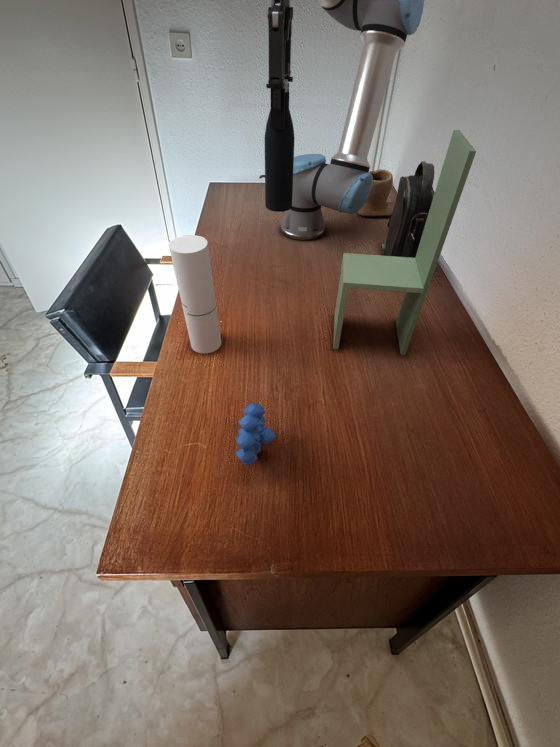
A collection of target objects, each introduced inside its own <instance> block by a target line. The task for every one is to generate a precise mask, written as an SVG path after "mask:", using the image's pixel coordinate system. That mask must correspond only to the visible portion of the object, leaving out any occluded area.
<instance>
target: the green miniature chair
mask: <svg viewBox="0 0 560 747" xmlns="http://www.w3.org/2000/svg"><path fill="white" fill-rule="evenodd" d="M476 154H477V150H476V149H475V147H473V145H472V144H471V143H470V141H469V140H468V139H467V138H466V136H465V135H464V134H463V133H462V132H461V130H460V129H453V131H452V133H451V137H450V141H449V143H448V147H447V150H446V153H445V157H444V161H443V164H442V167H441V170H440V174H439V177H438V180H437V183H436V187H435V190H434V192H435V194H434V197H433V200H432V204H431V207H430V210H429V214H428V217H427V220H426V224H425V227H424V230H423V234H422V237H421V240H420V244H419V247H418V250H417V254H416V257H415V258H410V257H395V256H383V255H379V254H366V253H365V254H364V253H352V252H351V253H350V252H343V254H342V261H341V269H340V275H339V276H340V277H339V282H338V289H337V296H336V301H335V302H336V303H335V310H334V317H333V341H332V342H333V345H332V348H333V350H339V347H340V342H341V336H342V330H343V324H344V317H345V312H346V305H347V299H348V293H349V289H359V290H373V291H384V292H385V291H386V292H399V293H404V294H403V297H402V301H401V304H400V308H399V311H398V314H397V317H396V320H395V326H396V333H397V340H398V347H399V352H400V355H401V356H406V354H407V351H408V348H409V345H410V342H411V339H412V337H413V333H414V331H415V328H416V325H417V322H418V319H419V317H420V313H421V310H422V308H423V305H424V302H425V300H426V296H427V293H428V291H429V288H430V285H431V282H432V279H433V277H434V274H435V271H436V268H437V265H438V263H439V259H440V256H441V254H442V251H443V248H444V245H445V242H446V239H447V237H448V234H449V231H450V229H451V228H450V227H451V225H452V222H453V219H454V216H455V213H456V211H457V208H458V205H459V202H460V199H461V197H462V193H463V191H464V188H465V185H466V182H467V180H468V176H469V173H470V170H471V168H472V165H473V163H474V160H475V157H476Z"/></svg>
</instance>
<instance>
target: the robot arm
mask: <svg viewBox="0 0 560 747" xmlns="http://www.w3.org/2000/svg"><path fill="white" fill-rule="evenodd" d="M316 2H317V3H318V5H319V6H320V7H321V8H322V10H324V12H326V14H328V16H330V17H331V18H332V19H333V20H335V21H336V22H337V23H339V24H340V25H342V26H344V27H345V28H346V29H349V30H352V31H359V32H360V33H359V38H360V41H361V43H362V46H363V47H362V51H361V55H360V59H359V62H358V66H357V71H356V75H355V79H354V83H353V88H352V92H351V97H350V102H349V105H348V109H347V113H346V118H345V122H344V126H343V130H342V133H341V134H342V135H341V138H340V143H339V147H338V151H337V152H336V153H335V154H334V155H333V156H331V159H330V162H329V163H326V162H327V158H326V156H325V155H323V154H321V153H305V154H300V155H296V156H294V165H293V193H292V208H291V209H290V210H288V211H284V213H283V216H282V219H281V221H280V232H281V234H282V235H283V236H285V237H286V238H289V239H291V240H295V241H312V240H315V239H316V240H317V239H319V238H320V237H322V236H323V235H324V234H325V229H326V225H325V220H324V215H323V211H322V207H323V208H327V209H330V210H334V211H337V212H339V213H343V214H344V213H345V214H349V215H352V214H353V215H354V214H357V213H356V212H358V211H359V210H360V209H361V208H362V207H363V205H364V204H365V202H366V200H367V199H368V197H369V194H370V192H371V189H372V182H373V177H372V175H371V174H370V173H369V172H370V169H371V164H370V163H369V161H368V157H369V154H370V149H371V146H372V142H373V138H374V135H375V131H376V128H377V125H378V121H379V116H380V113H381V111H382V110H381V109H382V105H383V103H384V102H383V101H384V98H385V95H386V91H387V87H388V85H389V81H390V77H391V73H392V70H393V66H394V61H395V58H396V55H397V53H398V52H399V51H401V49H402V48H404V47H405V45H406V41H407V38H408V36H412V35H414V34H415V33H416V32H417V30H418V28H419V27H420V23H421V20H422V16H423V12H424V7H425V6H424V4H425V0H316ZM266 16H267V24H268V81H267V82H268V83H265V87H266V89H270V109H271V129H284V123H285V88H284V79H288V83H289V84H288V87H289V88H288V91H289V92H290V83H293V81H294V76H291V74H292V71H291V62H290V63H287V76H286V77H284V72H285V50H286V42H287V41H288V40H289V39H291V40H292V34H293V20H294V19H293V18H294V7H293V6H291V0H271V6H268V8H267V15H266ZM262 178H263V179H265V174H261V175H260V176H258V179H262Z"/></svg>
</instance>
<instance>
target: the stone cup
mask: <svg viewBox="0 0 560 747" xmlns="http://www.w3.org/2000/svg"><path fill="white" fill-rule="evenodd" d="M369 173H370V174H371V175H372V177H373V182H372V189H371V192H370V194H369V197H368V199H367V200H366V202H365V204H364V205H363V207H362V208H361V209H360V210H359V211H358V212H356V213H355V214H357V215H359V216H362V217H384V216H388V217H389V216H391V214H392V212H393V208H394V205H395V201H388V198H389V196H390V193H391V190H392V189H393V185H394V176H393V173H392V172H391V171H389V170H387V169H382V168H379V169H375V170H369Z"/></svg>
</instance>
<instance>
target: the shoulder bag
mask: <svg viewBox="0 0 560 747" xmlns="http://www.w3.org/2000/svg"><path fill="white" fill-rule="evenodd" d="M434 180H435V165H434V164H433V163H429V162H426V160H423V161H420V163H418V165H417V166H416V169H415V172H414V174H412V175H411V174H409V175H408V176H407V175H406V176H403V175H402V176H400V178H399V181H398V186H397V193H396V198H395V201H394V202H395V205H394V208H393V212H392V214H391V215H390V217H389V219H388V222H387V225H386V226H387V228H388V229H387V236H386V239H385V243H381V251H382V256H395V257H410V258H415V257H416V254H417V250H418V247H419V244H420V240H421V237H422V234H423V230H424V227H425V224H426V220H427V217H428V214H429V210H430V207H431V204H432V200H433V197H434V194H435V190H434Z"/></svg>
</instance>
